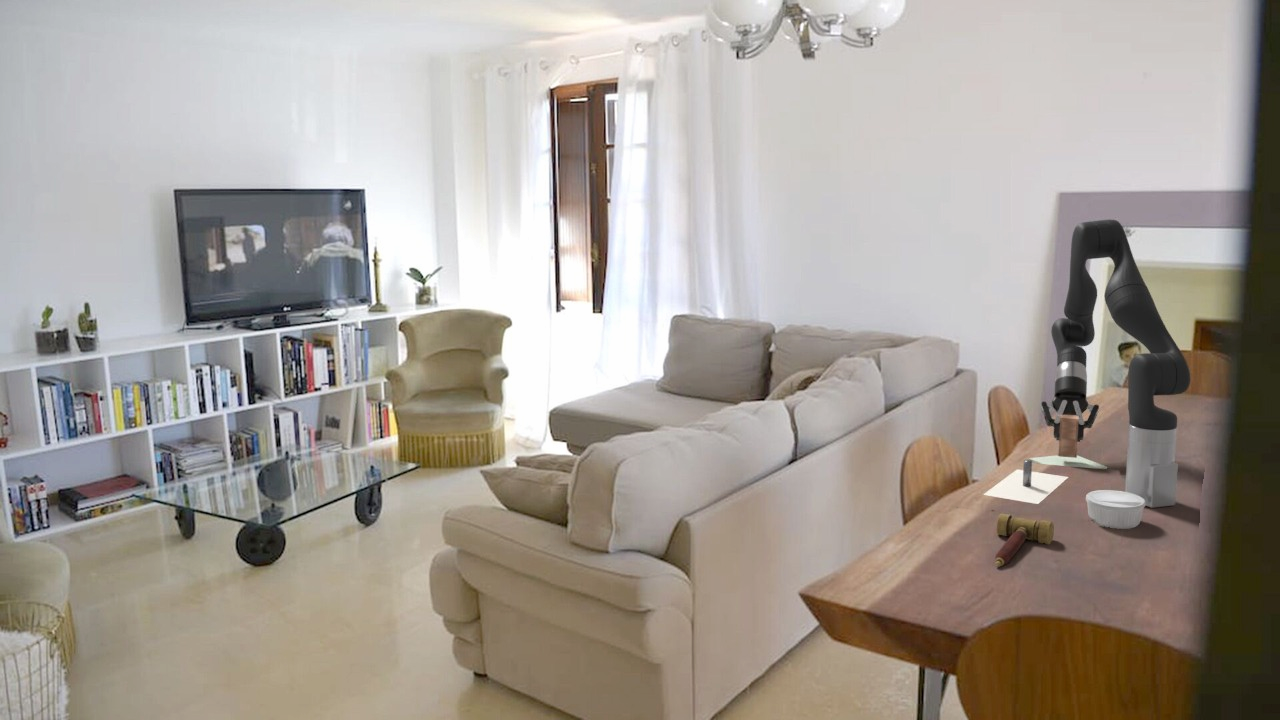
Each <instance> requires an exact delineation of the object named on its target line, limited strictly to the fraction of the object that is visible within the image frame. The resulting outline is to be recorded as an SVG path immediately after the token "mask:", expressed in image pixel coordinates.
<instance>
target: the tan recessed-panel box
mask: <svg viewBox="0 0 1280 720" xmlns="http://www.w3.org/2000/svg"><path fill="white" fill-rule="evenodd" d="M1078 422H1079V416H1077V415H1068V414H1063V415H1060V432H1059V433H1060V438H1059V440H1058V454H1057V455H1058V456H1060V457H1073V458H1077V456H1078V443H1079V442H1078V440H1077V437H1078Z"/></svg>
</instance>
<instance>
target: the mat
mask: <svg viewBox="0 0 1280 720" xmlns="http://www.w3.org/2000/svg"><path fill="white" fill-rule="evenodd" d="M1028 460H1031V461H1032V463H1035V462H1036V463H1035V464H1038V463H1039V464H1038V465H1048V466H1049V465H1050V466H1064V467H1073V468H1075V467H1076V468H1087V469H1088V468H1089V469H1100V470H1106V469H1107V468H1109V467H1108V466H1106V465H1103V464H1101V463H1098V462H1095V461H1093V460H1091V459H1087V458H1085V457H1082V456H1080V455H1077V458H1073V457H1060V456H1058V454H1057V455H1047V456H1046V455H1045V456H1040V457H1039V456H1037V457H1029V458H1028ZM1107 470H1108V469H1107Z"/></svg>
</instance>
